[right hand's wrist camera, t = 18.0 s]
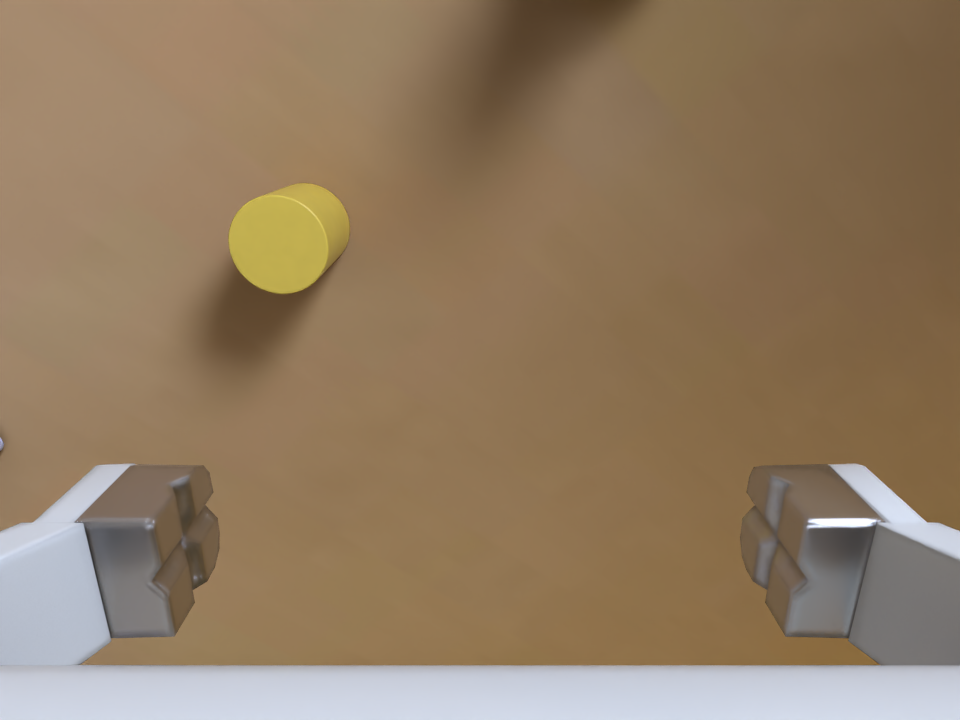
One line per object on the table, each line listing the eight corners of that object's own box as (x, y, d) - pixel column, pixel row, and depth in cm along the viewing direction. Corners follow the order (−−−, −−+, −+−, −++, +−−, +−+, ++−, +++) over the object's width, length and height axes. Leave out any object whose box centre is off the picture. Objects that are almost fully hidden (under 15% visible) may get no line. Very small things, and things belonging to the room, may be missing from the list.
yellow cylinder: (350, 185, 28) (327, 198, 24) (350, 270, 29) (329, 297, 25) (263, 180, 28) (224, 191, 24) (267, 265, 29) (231, 291, 25)
